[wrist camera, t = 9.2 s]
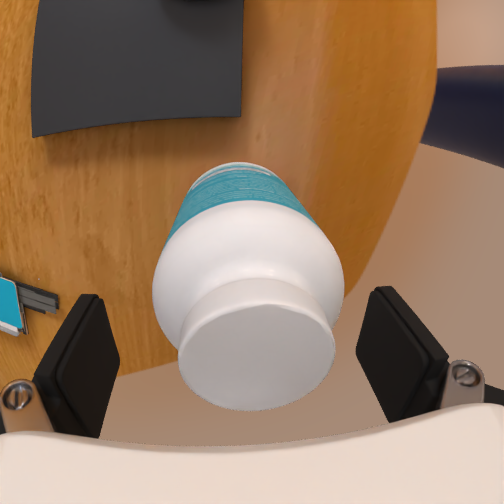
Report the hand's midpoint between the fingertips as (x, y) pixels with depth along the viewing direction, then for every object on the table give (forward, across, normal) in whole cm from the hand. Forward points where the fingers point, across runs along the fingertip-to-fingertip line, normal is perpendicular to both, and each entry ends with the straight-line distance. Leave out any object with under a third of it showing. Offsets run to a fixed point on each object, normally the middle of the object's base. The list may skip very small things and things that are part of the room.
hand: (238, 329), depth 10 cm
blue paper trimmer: (+12, +24, +4) cm, 28 cm away
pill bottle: (+12, -1, 0) cm, 12 cm away
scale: (+12, +6, -13) cm, 19 cm away
